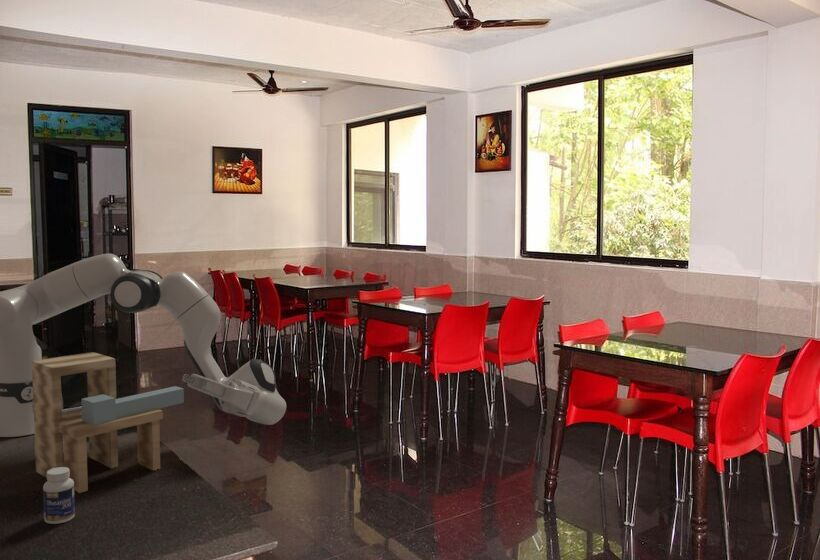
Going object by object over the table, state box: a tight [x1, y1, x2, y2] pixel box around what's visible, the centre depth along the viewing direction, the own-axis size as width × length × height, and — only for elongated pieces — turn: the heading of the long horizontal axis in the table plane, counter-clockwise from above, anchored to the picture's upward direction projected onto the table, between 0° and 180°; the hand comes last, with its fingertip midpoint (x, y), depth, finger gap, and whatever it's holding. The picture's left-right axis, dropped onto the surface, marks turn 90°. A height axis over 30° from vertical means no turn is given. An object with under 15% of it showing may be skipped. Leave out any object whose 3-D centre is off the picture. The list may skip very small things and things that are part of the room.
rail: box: [80, 385, 185, 425], centre depth 158 cm, size 5×23×5 cm, turn 143°
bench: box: [59, 408, 164, 494], centre depth 155 cm, size 8×20×14 cm, turn 140°
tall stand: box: [32, 351, 119, 479], centre depth 158 cm, size 11×14×26 cm
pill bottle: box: [42, 467, 76, 525], centre depth 133 cm, size 5×5×10 cm
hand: (194, 381), depth 170 cm, fingers open, 8 cm apart
